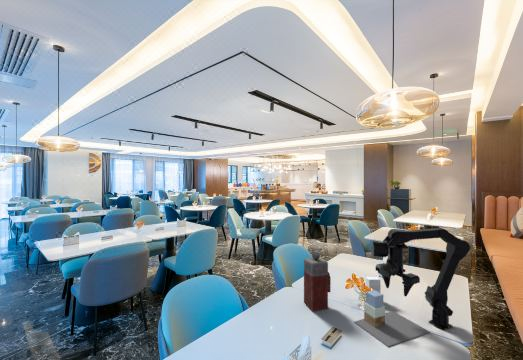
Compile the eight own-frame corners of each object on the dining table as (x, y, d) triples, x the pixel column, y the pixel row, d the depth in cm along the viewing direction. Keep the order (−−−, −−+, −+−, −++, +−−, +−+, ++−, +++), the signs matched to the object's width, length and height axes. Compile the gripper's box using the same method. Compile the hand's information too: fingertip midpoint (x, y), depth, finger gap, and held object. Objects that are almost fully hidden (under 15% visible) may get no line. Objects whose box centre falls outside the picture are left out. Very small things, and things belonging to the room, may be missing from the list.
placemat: (392, 311, 122) (392, 310, 122) (429, 332, 106) (429, 331, 106) (353, 322, 113) (353, 321, 113) (388, 347, 97) (388, 346, 97)
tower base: (374, 317, 116) (374, 308, 116) (385, 324, 111) (385, 315, 111) (364, 320, 114) (364, 311, 114) (374, 327, 109) (374, 318, 109)
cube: (374, 300, 116) (374, 290, 116) (383, 305, 111) (383, 294, 111) (365, 303, 114) (365, 291, 114) (374, 308, 109) (374, 296, 109)
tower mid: (374, 308, 116) (374, 300, 116) (385, 315, 111) (385, 306, 111) (364, 311, 114) (364, 302, 114) (374, 318, 109) (374, 308, 109)
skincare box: (376, 298, 136) (376, 276, 136) (380, 302, 131) (380, 279, 131) (365, 299, 135) (365, 276, 135) (369, 302, 131) (369, 279, 131)
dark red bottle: (332, 308, 126) (332, 251, 126) (311, 311, 122) (312, 253, 122) (322, 300, 134) (323, 247, 134) (303, 302, 131) (303, 248, 131)
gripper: (366, 254, 120) (366, 286, 120) (402, 266, 103) (402, 304, 103) (383, 251, 125) (384, 283, 125) (420, 262, 107) (420, 299, 107)
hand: (396, 291), depth 115 cm, fingers open, 9 cm apart
